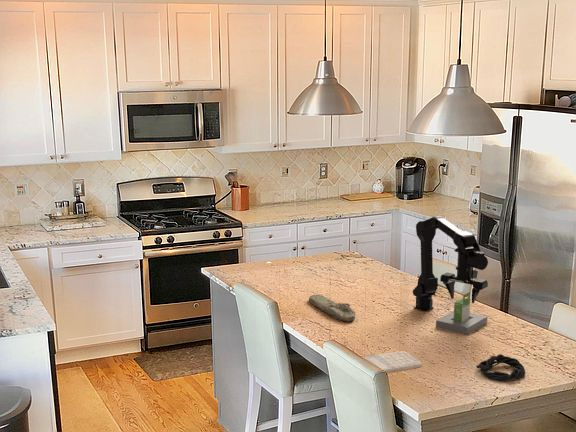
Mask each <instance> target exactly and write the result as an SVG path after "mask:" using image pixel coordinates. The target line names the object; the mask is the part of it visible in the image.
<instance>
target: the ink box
mask: <svg viewBox="0 0 576 432" xmlns="http://www.w3.org/2000/svg"><path fill="white" fill-rule="evenodd" d="M467 296H468V297H467ZM466 297H467V298H466ZM470 307H471V292H470V291H469V292H467V293H465V294H464V295H462V298H461V299H458V300H456V301H455V302H454V304H453V311H454V319H453V320H454V321H458V322H462V323H464V322H466V321H468V320H469V316H470V313H471V312H470V311H471V308H470Z"/></svg>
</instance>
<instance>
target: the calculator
mask: <svg viewBox="0 0 576 432" xmlns="http://www.w3.org/2000/svg"><path fill="white" fill-rule="evenodd" d="M362 357H363V358H364V359H366V360H368V361H370V362H371V363H373V364H374V365H376V366H378V367H379V368H381V369H383V370H385V371H387V372H386V373H391V372H397V371H398V372H399V371H403V370H404V371H405V370H409V369H415V368H420V367H422V366H423V364H422V362H421V361H420V360H418V359H417V358H416V357H414V356H413V355H411V354H409V353H408V352H406V351H404V350H401V351H400V350H399V351H394V352H388V353H381V354H375V355H368V356H362Z"/></svg>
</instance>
